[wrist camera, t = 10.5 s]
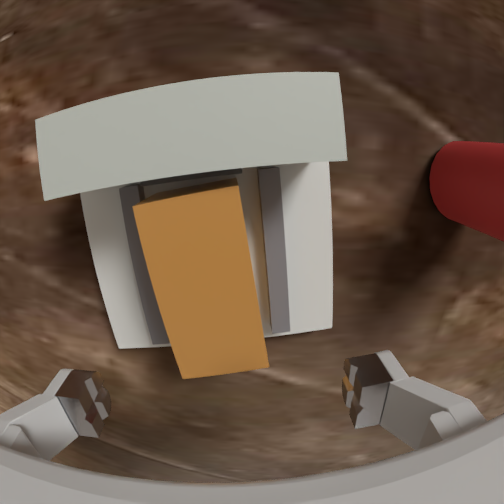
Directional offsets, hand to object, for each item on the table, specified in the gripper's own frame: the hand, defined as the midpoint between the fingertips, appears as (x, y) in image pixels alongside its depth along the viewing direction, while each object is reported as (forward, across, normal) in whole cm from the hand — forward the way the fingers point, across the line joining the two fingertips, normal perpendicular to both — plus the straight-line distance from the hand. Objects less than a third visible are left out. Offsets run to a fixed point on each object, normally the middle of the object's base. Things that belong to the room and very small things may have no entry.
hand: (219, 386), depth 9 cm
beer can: (+14, -19, -5) cm, 24 cm away
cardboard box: (+11, +1, 0) cm, 11 cm away
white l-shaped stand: (+13, +1, -2) cm, 14 cm away
